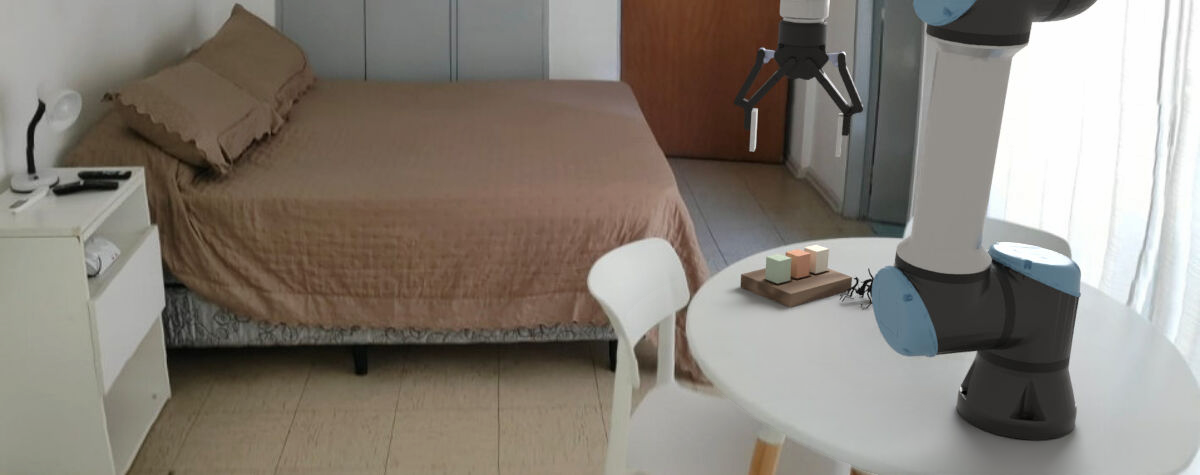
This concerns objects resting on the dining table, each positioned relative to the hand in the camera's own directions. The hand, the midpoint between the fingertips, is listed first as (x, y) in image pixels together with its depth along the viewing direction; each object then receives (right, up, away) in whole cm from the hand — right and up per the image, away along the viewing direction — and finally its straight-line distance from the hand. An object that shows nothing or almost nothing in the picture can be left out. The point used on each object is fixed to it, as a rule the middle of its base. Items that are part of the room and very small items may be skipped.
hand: (794, 152), depth 191 cm
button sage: (-1, -21, +12) cm, 24 cm away
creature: (+13, -25, +11) cm, 30 cm away
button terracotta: (+3, -20, +15) cm, 25 cm away
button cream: (+6, -19, +18) cm, 27 cm away
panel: (+3, -23, +16) cm, 28 cm away
